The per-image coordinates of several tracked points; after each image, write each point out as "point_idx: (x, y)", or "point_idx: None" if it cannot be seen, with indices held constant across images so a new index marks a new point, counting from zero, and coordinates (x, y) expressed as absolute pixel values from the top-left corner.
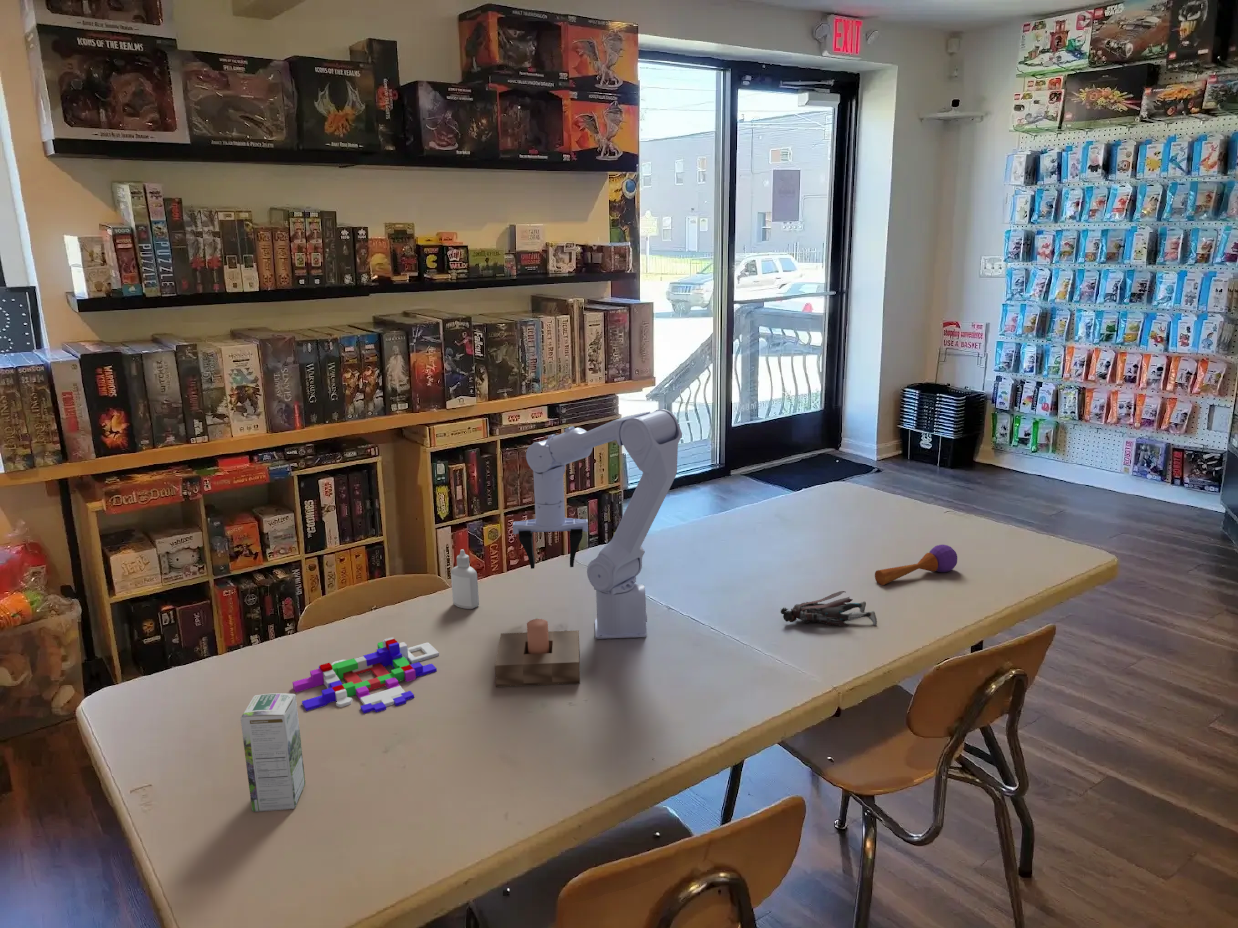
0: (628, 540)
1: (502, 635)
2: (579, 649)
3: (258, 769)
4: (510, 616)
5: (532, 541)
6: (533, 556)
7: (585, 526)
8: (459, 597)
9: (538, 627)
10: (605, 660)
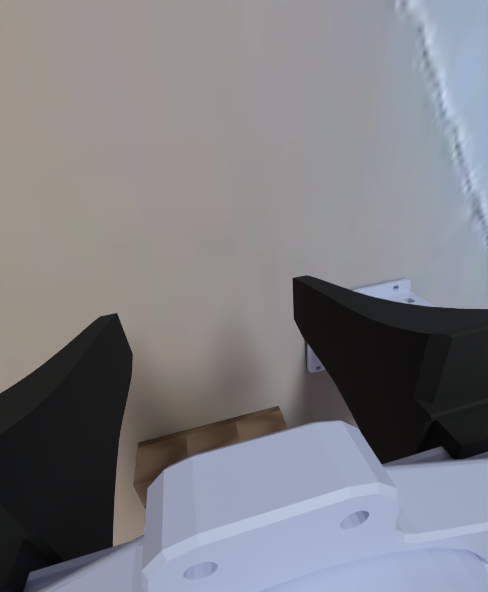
0: None
1: (140, 489)
2: (279, 410)
3: None
4: (79, 298)
5: (77, 441)
6: (113, 376)
7: None
8: None
9: None
10: (319, 420)
